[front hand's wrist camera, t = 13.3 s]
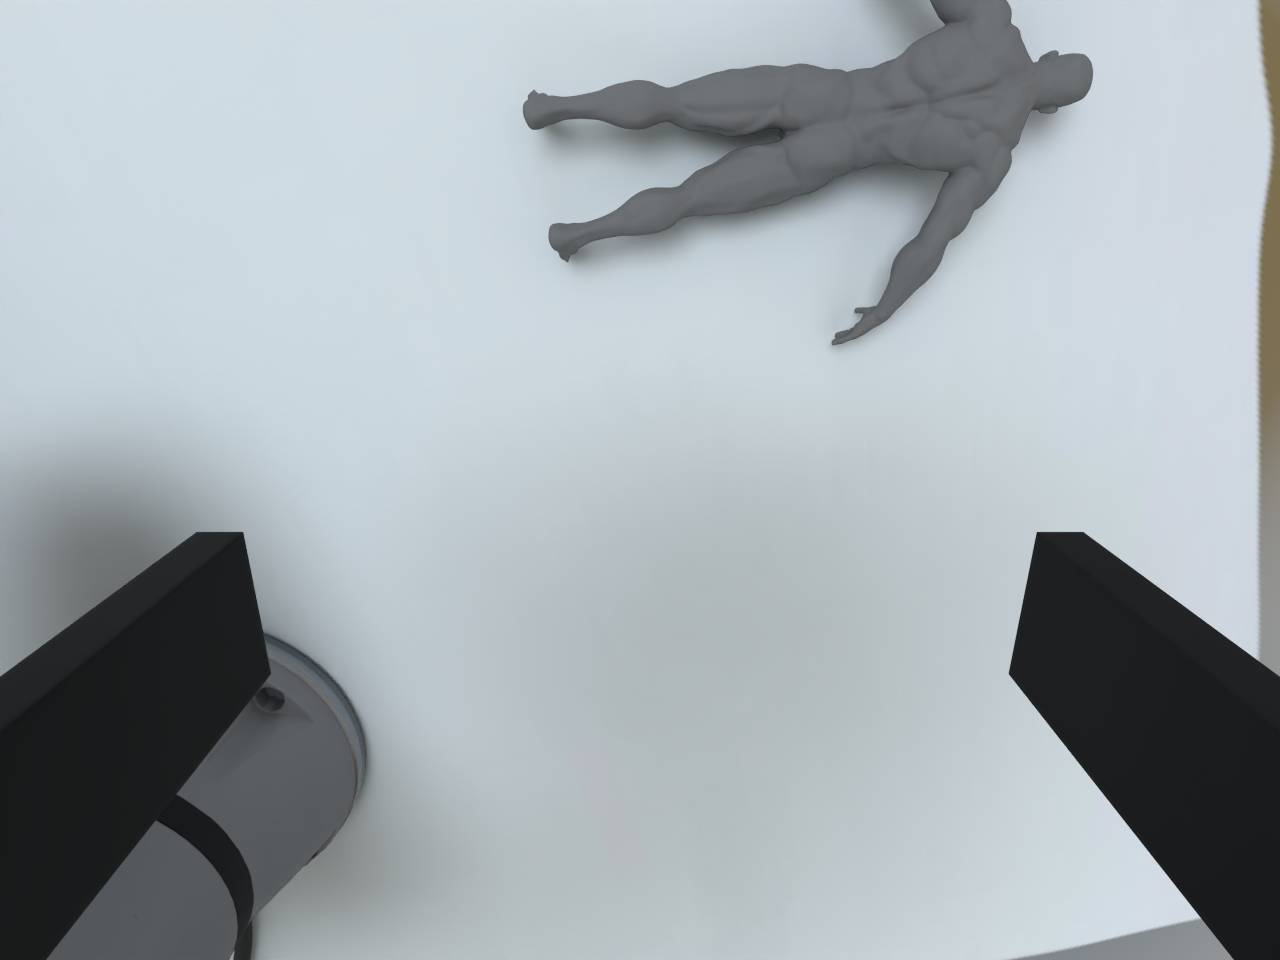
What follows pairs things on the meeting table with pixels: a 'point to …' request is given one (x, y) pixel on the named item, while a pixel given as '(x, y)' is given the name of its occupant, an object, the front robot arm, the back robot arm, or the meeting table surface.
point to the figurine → (843, 132)
